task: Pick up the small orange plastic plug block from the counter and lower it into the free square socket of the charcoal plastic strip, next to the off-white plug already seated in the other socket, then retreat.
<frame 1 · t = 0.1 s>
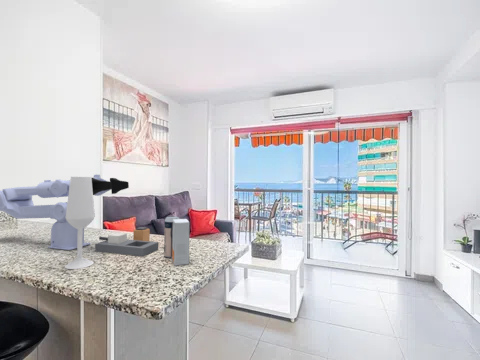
hand: (119, 185, 79), 22 cm above the counter, tool horizontal, fingers open, 7 cm apart
socket strip: (127, 250, 81), on the counter
beer can: (171, 256, 75), on the counter
skincare box: (180, 262, 70), on the counter
orange plug: (141, 242, 91), on the counter
champagne flute: (79, 265, 66), on the counter
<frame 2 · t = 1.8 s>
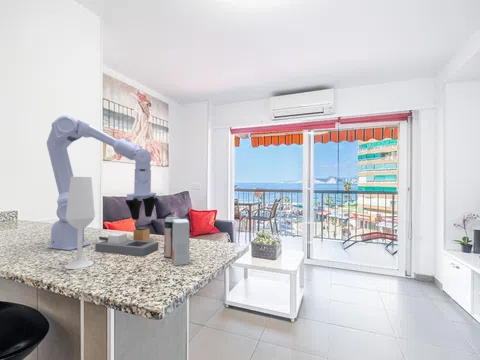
hand: (142, 218, 91), 9 cm above the counter, tool pointing down, fingers open, 7 cm apart
nothing on the counter moved.
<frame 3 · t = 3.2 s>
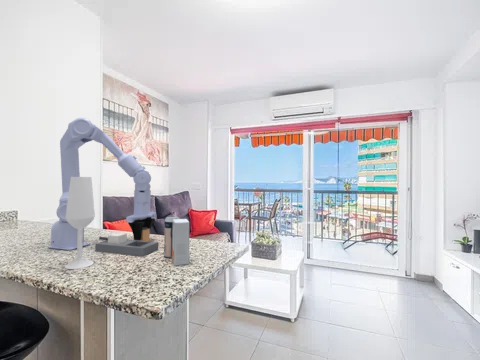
hand: (141, 238, 91), 1 cm above the counter, tool pointing down, fingers closed on orange plug, 4 cm apart
orange plug: (141, 242, 91), on the counter, touching gripper
everything else where it was.
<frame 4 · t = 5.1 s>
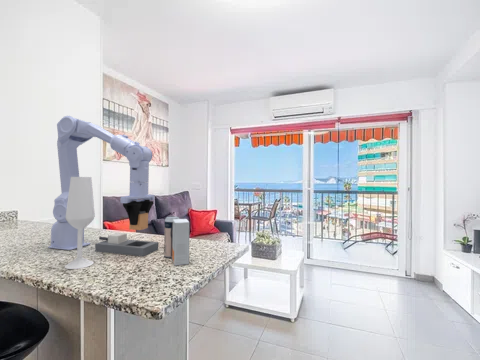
hand: (138, 223, 80), 9 cm above the counter, tool pointing down, fingers closed on orange plug, 4 cm apart
orange plug: (138, 228, 80), point 7 cm above the counter, touching gripper
everything else where it was.
when the fingers open (3 cm above the counter, at t = 7.0 s): orange plug drops 1 cm, resting in socket strip.
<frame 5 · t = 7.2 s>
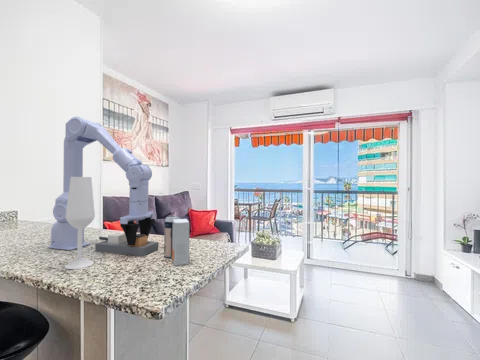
hand: (138, 242, 80), 3 cm above the counter, tool pointing down, fingers open, 6 cm apart
orange plug: (138, 251, 80), resting in socket strip
everything else where it was.
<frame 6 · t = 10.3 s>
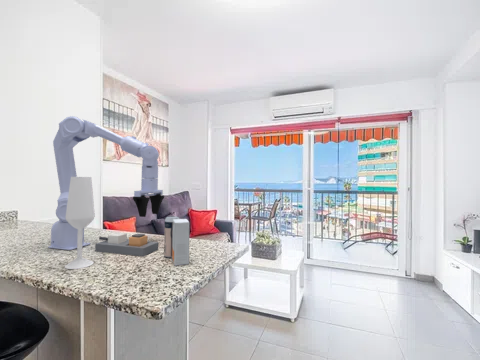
hand: (149, 215, 90), 10 cm above the counter, tool pointing down, fingers open, 7 cm apart
nothing on the counter moved.
at the end: orange plug 0.1 cm from the target spot on the socket strip, point 0.0 cm above the socket strip's base; orange plug tilted 0°; the gripper is holding nothing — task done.
